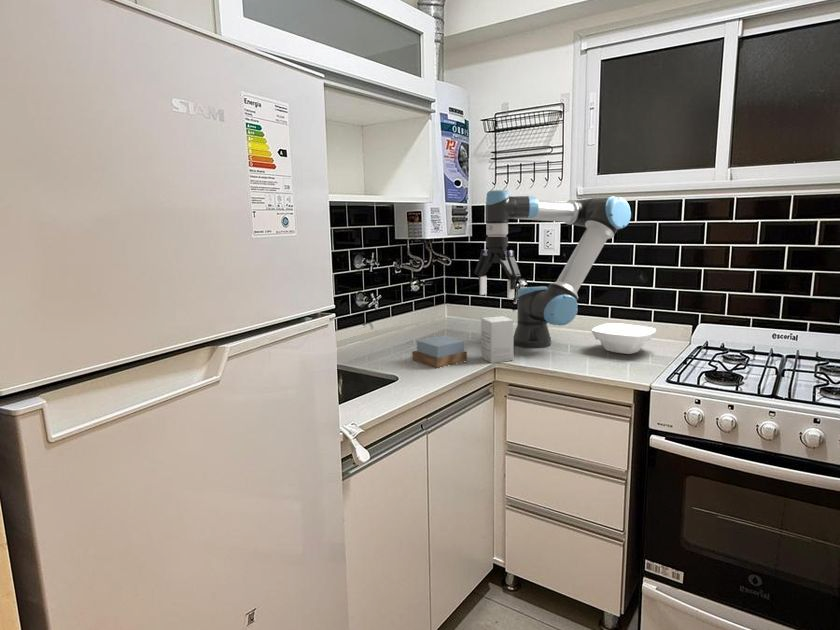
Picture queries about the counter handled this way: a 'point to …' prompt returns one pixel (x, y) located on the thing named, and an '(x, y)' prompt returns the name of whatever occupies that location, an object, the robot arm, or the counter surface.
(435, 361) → the tower base
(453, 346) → the tower top
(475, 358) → the counter surface
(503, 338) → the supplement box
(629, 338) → the bowl
